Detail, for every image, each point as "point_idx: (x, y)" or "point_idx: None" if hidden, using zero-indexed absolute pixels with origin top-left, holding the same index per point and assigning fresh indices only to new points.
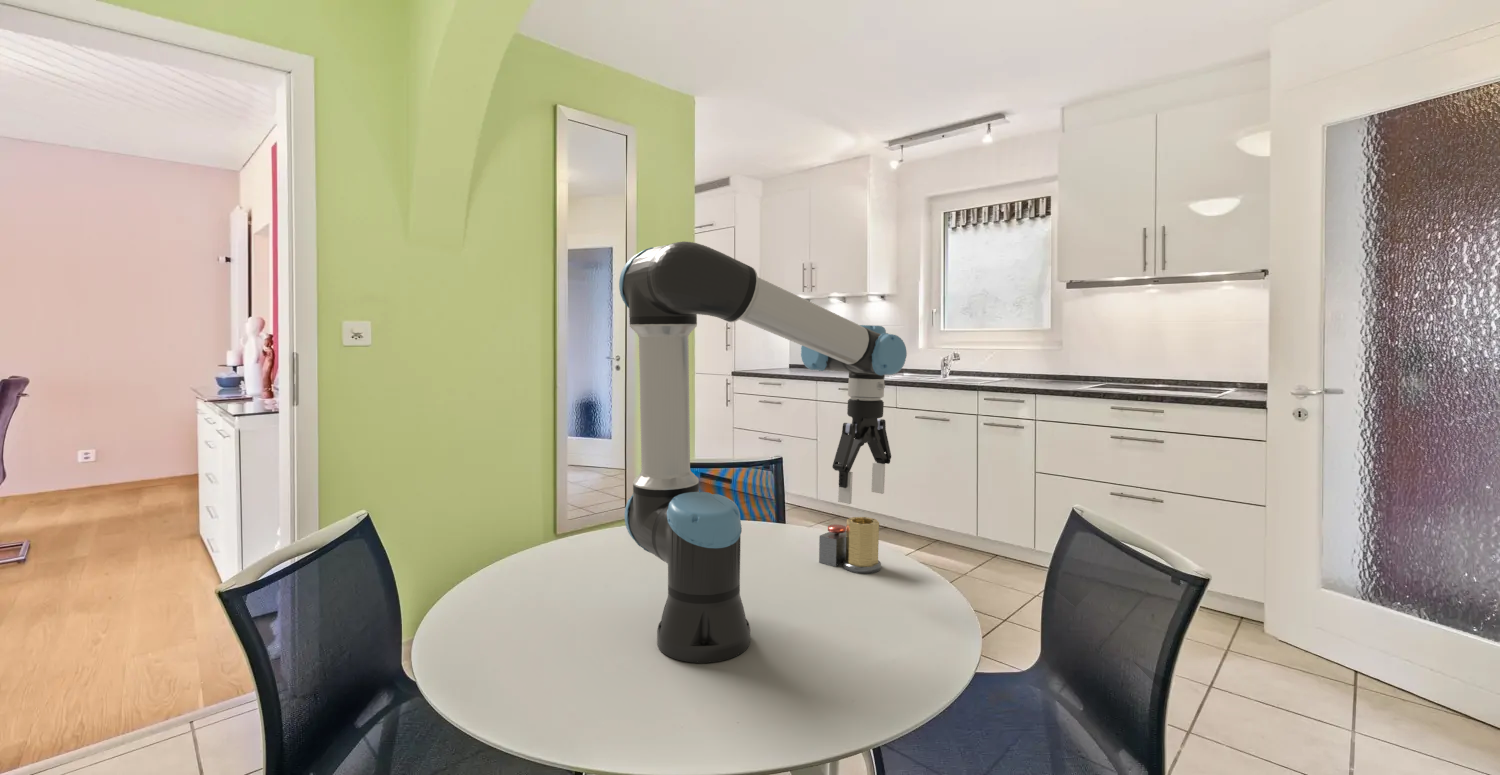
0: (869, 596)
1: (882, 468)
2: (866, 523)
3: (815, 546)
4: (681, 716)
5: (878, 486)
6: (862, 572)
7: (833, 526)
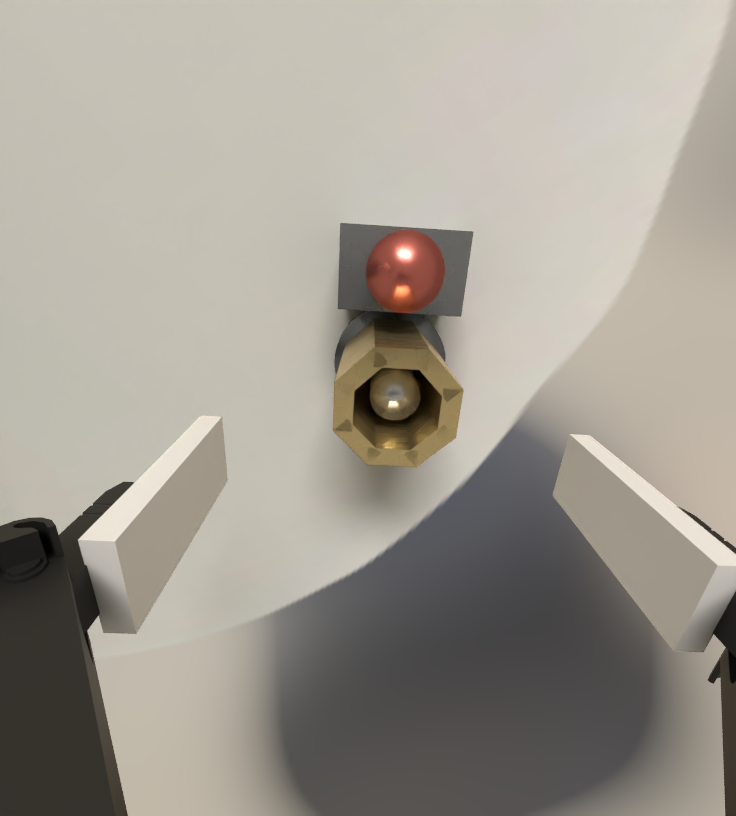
0: None
1: (651, 612)
2: (437, 399)
3: (497, 112)
4: None
5: (578, 495)
6: None
7: (404, 256)
